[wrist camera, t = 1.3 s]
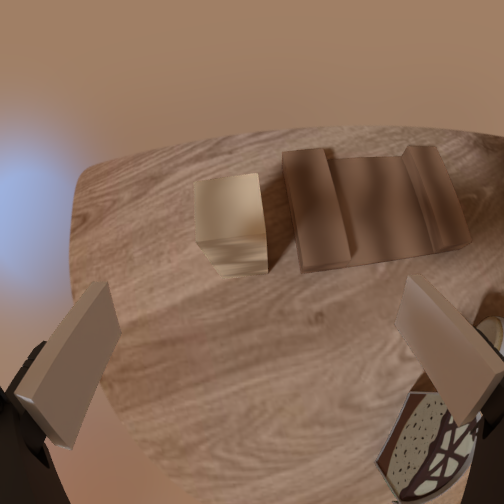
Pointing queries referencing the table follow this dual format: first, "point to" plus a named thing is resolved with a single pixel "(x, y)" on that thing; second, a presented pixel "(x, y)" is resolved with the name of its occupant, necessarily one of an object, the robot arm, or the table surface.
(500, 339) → the ceramic mug
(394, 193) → the cradle
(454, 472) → the food container
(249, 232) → the tall wooden block
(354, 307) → the table surface
